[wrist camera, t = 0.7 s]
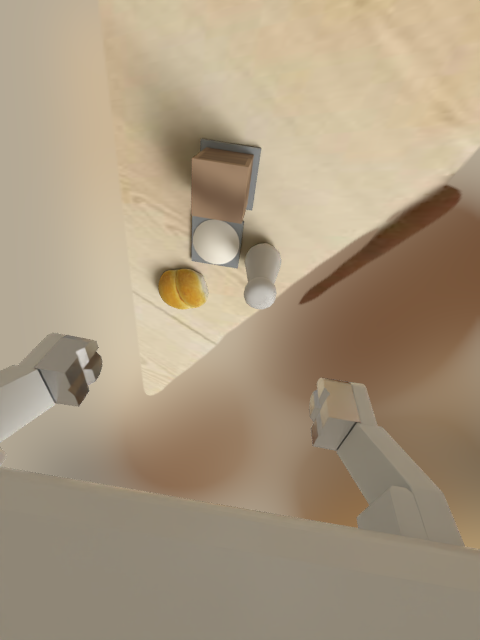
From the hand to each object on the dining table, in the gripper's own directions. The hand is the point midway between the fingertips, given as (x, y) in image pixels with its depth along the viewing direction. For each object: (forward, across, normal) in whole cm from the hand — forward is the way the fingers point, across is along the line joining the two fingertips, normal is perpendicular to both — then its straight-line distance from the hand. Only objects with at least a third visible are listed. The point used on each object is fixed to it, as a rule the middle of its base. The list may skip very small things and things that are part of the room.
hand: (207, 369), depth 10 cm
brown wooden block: (+36, +4, +2) cm, 36 cm away
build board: (+37, +5, +12) cm, 39 cm away
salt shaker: (+37, -3, +13) cm, 39 cm away
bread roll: (+37, +11, +21) cm, 44 cm away
